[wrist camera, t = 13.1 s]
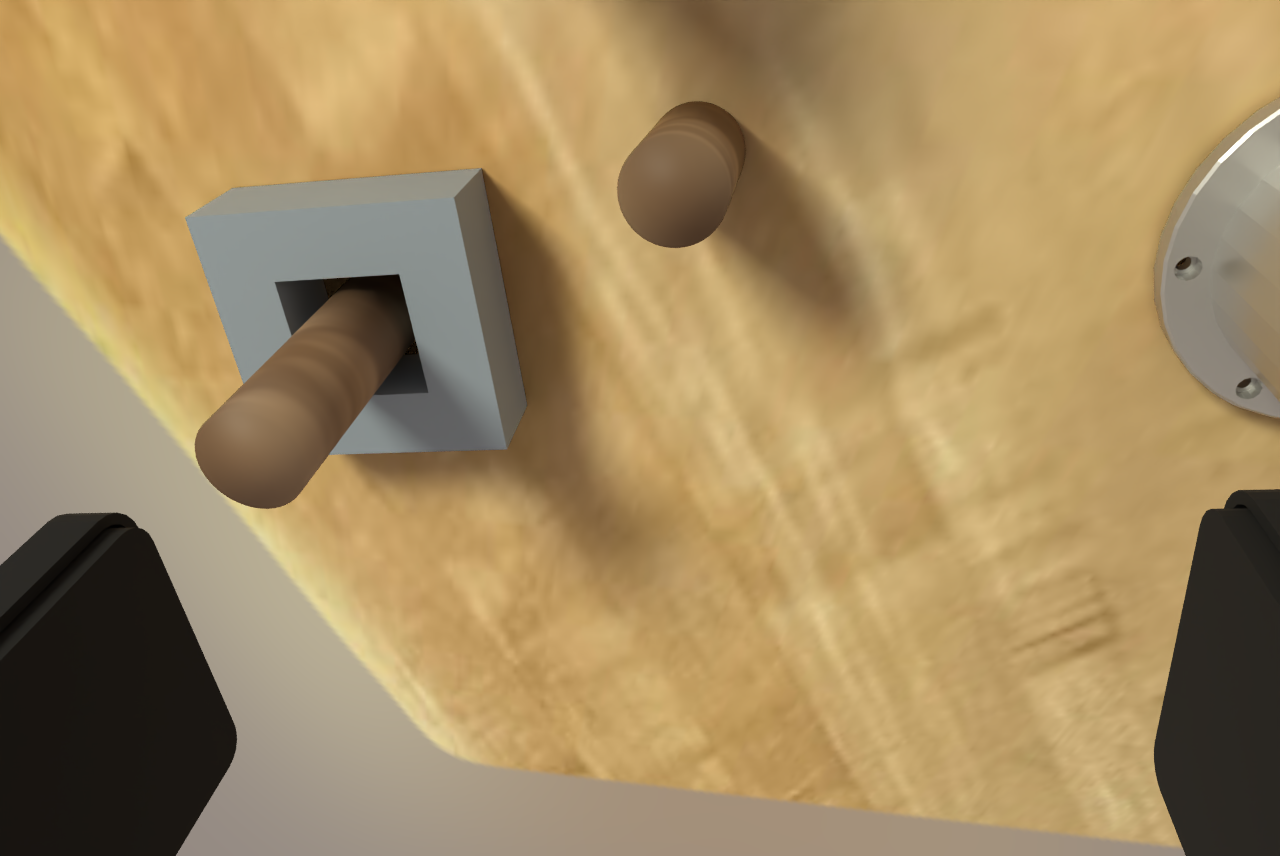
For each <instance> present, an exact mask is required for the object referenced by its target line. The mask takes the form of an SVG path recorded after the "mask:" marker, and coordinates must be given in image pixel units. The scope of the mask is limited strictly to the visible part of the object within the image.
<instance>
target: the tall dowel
mask: <svg viewBox="0 0 1280 856" xmlns="http://www.w3.org/2000/svg"><path fill="white" fill-rule="evenodd" d="M414 340H415V336H414V332H413V328H412V324H411V320H410V316H409V312H408V308H407V304H406V300H405V295H404V291H403V287H402V283H401V279H400V275H399V274H394V275H378V276H362V277H351V278H350V279H349V280H348V281H347V282H346V283H345V284H344V285H343V286H342V287H341V288H340V289H339V290H338V291H337V292H336V293H335V294H334V295H333V296H332V297H331V298H330V299H329V300H328V301H327V302H326V303H325V304H324V305H323V306H322V307H321V308H320V309H319V310H317V311H316V312H315V313H314V314H313V315H312V316H311V317H310V318H309V319H308V320H307V321H306V322H305V323H304V324H303V325H302V326H301V327H300V328H299V329H298V330H297V331H296V332H295V333H294V334H293V335H292V336H291V337H290V338H289V339H288V340H287V341H286V342H285V343H284V344H283V345H282V346H281V347H280V348H279V349H278V350H277V351H276V352H275V353H274V354H273V355H272V356H271V357H270V358H269V359H268V360H267V361H266V362H265V363H264V364H263V365H262V366H261V367H260V368H259V369H258V370H257V371H256V372H255V373H254V374H253V375H252V376H251V377H250V378H249V379H248V380H247V381H246V382H245V383H244V384H243V385H242V386H241V387H240V388H239V389H238V390H237V391H236V392H235V393H234V394H233V395H232V396H231V397H230V398H229V399H228V400H227V401H226V402H225V403H224V404H223V405H222V406H221V407H220V408H219V409H218V410H217V411H216V412H215V413H214V414H213V415H212V416H211V417H210V418H209V419H208V420H207V421H206V422H205V423H204V424H203V425H202V426H201V428H200V429H199V431H198V433H197V436H196V440H195V453H196V458H197V461H198V464H199V466H200V468H201V470H202V472H203V473H204V475H205V476H206V478H207V479H208V480H209V481H210V483H211V484H212V485H213V486H214V487H215V488H217V489H218V490H219V491H220V492H221V493H223V494H224V495H226V496H227V497H229V498H230V499H232V500H234V501H236V502H238V503H241V504H244V505H246V506H250V507H255V508H265V509H269V508H277V507H281V506H284V505H286V504H288V503H290V502H291V501H293V500H294V499H295V498H296V497H297V496H298V495H299V494H300V492H301V491H302V490H303V488H304V487H305V486H306V484H307V483H308V482H309V480H310V479H311V478H312V476H313V475H314V474H315V472H316V471H317V470H318V468H319V467H320V466H321V464H322V463H323V462H324V460H325V459H326V458H327V456H328V455H329V454H330V452H331V451H332V450H333V448H334V447H335V446H336V444H337V443H338V442H339V440H340V439H341V438H342V436H343V435H344V434H345V432H346V431H347V430H348V428H349V427H350V426H351V424H352V423H353V422H354V420H355V419H356V418H357V416H358V415H359V414H360V412H361V411H362V410H363V408H364V407H365V406H366V404H367V403H368V402H369V400H370V399H371V398H372V396H373V395H374V394H375V392H376V391H377V390H378V388H379V387H380V386H381V384H382V383H383V382H384V380H385V379H386V378H387V376H388V375H389V374H390V372H391V371H392V370H393V368H394V367H395V366H396V364H397V363H398V362H399V360H400V359H401V358H402V356H403V355H404V354H405V352H406V351H407V350H408V348H409V347H410V346H411V344H412V343H413V342H414Z"/></svg>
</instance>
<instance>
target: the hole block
mask: <svg viewBox="0 0 1280 856" xmlns="http://www.w3.org/2000/svg"><path fill="white" fill-rule="evenodd" d="M185 219H186V222H187V224H188V227H189V230H190V233H191V236H192V239H193V241H194V244H195V247H196V250H197V253H198V256H199V258H200V261H201V264H202V267H203V270H204V273H205V276H206V278H207V281H208V284H209V287H210V290H211V293H212V295H213V298H214V301H215V304H216V307H217V310H218V312H219V315H220V318H221V321H222V324H223V327H224V330H225V332H226V335H227V338H228V341H229V344H230V347H231V349H232V352H233V355H234V358H235V361H236V364H237V366H238V369H239V372H240V375H241V378H242V381H243V384H244V383H245V382H246V381H247V380H248V379H249V378H250V377H251V376H252V375H253V374H254V373H255V372H256V371H257V370H258V369H259V368H260V367H261V366H262V365H263V364H264V363H265V362H266V361H267V360H268V359H269V358H270V357H271V356H272V355H273V354H274V353H275V352H276V351H277V350H278V349H279V348H280V347H281V346H282V345H283V344H284V343H285V342H286V341H287V340H288V339H289V338H290V337H291V336H292V335H293V334H294V333H295V332H296V331H297V330H298V329H299V328H300V327H301V326H302V325H303V324H304V323H305V322H306V321H307V320H308V319H309V318H310V317H311V316H312V315H313V314H314V313H315V312H316V311H317V310H319V309H320V308H321V307H322V306H323V305H324V304H325V303H326V302H327V301H328V300H329V298H328V295H327V292H326V288H325V285H324V281H323V279H329V278H345V277H362V276H378V275H394V274H399V275H400V279H401V283H402V287H403V291H404V295H405V300H406V304H407V308H408V312H409V316H410V320H411V324H412V328H413V332H414V336H415V340H416V344H417V348H418V352H419V354H410V355H403V356H402V358H401V359H400V360H399V362H398V363H397V364H396V366H395V367H394V368H393V370H392V371H391V372H390V374H389V375H388V376H387V378H386V379H385V380H384V382H383V383H382V384H381V386H380V387H379V388H378V390H377V391H376V392H375V394H374V395H373V396H372V398H371V399H370V400H369V402H368V403H367V404H366V406H365V407H364V408H363V410H362V411H361V412H360V414H359V415H358V416H357V418H356V419H355V420H354V422H353V423H352V424H351V426H350V427H349V428H348V430H347V431H346V432H345V434H344V435H343V436H342V438H341V439H340V440H339V442H338V443H337V444H336V446H335V447H334V448H333V450H332V451H331V452H330V454H329V455H335V454H369V453H402V452H436V451H469V450H503V449H507V448H508V446H509V444H510V442H511V440H512V437H513V435H514V433H515V431H516V429H517V427H518V424H519V422H520V420H521V418H522V416H523V414H524V411H525V409H526V407H527V401H526V396H525V391H524V386H523V381H522V376H521V370H520V365H519V360H518V355H517V350H516V344H515V339H514V334H513V329H512V324H511V319H510V313H509V308H508V303H507V298H506V293H505V288H504V282H503V277H502V272H501V267H500V262H499V256H498V251H497V246H496V241H495V236H494V231H493V225H492V220H491V215H490V210H489V205H488V200H487V194H486V189H485V184H484V179H483V174H482V168H478V169H466V170H453V171H441V172H428V173H416V174H403V175H391V176H378V177H366V178H353V179H340V180H328V181H315V182H303V183H290V184H278V185H265V186H253V187H240V188H232V189H230V190H229V191H227V192H225V193H224V194H222V195H221V196H219V197H217V198H216V199H214V200H213V201H211V202H209V203H208V204H206V205H204V206H203V207H201V208H200V209H198V210H196V211H195V212H193V213H192V214H190V215H188V216H187V217H185Z"/></svg>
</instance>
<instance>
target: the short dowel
mask: <svg viewBox="0 0 1280 856" xmlns="http://www.w3.org/2000/svg"><path fill="white" fill-rule="evenodd" d="M745 152H746V148H745V141H744V136H743V134H742V131H741V129H740V127H739V125H738V124H737V122H736V121H735V119H734V118H733V117H732V116H731V115H730V114H729V113H728V112H726V111H725V110H724V109H722V108H720V107H718V106H716V105H714V104H711V103H707V102H688V103H684V104H681V105H679V106H676V107H675V108H673V109H671V110H670V111H669V112H667V113H666V114H665V115H664V116H663V117H662V118H661V119H660V121H659V122H658V123H657V124H656V125H655V126H654V127H653V129H652V130H651V131H650V132H649V133H648V134H647V135H646V137H645V138H644V139H643V140H642V141H641V142H640V143H639V145H638V146H637V147H636V148H635V149H634V150H633V151H632V153H631V154H630V155H629V156H628V158H627V159H626V161H625V163H624V164H623V166H622V169H621V171H620V175H619V179H618V187H617V192H618V201H619V205H620V208H621V211H622V213H623V216H624V217H625V219H626V221H627V223H628V224H629V225H630V226H631V228H632V229H633V230H634V231H635V232H636V233H637V234H638V235H640V236H641V237H642V238H644V239H646V240H647V241H649V242H651V243H653V244H656V245H659V246H663V247H669V248H680V247H687V246H691V245H694V244H696V243H699V242H700V241H702V240H704V239H705V238H707V237H708V236H710V235H711V234H712V233H713V232H714V231H715V230H716V228H717V227H718V226H719V225H720V223H721V221H722V220H723V218H724V216H725V213H726V211H727V208H728V206H729V203H730V200H731V198H732V195H733V192H734V190H735V187H736V184H737V182H738V179H739V176H740V174H741V171H742V168H743V165H744V161H745Z"/></svg>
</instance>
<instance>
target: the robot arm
mask: <svg viewBox="0 0 1280 856" xmlns="http://www.w3.org/2000/svg"><path fill="white" fill-rule="evenodd" d="M1186 257H1187V259H1186V261H1185V262H1184V263H1183V264H1181V265H1176V264H1177V263H1178V262H1179V261H1180V260H1182V259H1183V258H1186ZM1154 301H1155V305H1156V309H1157V313H1158V317H1159V321H1160V325H1161V329H1162V330H1163V332H1164V334H1165V336H1166V338H1167V340H1168V342H1169V344H1170V346H1171V347H1172V349H1173V351H1174V353H1175V354H1176V355H1177V357H1178V358H1179V359H1180V360H1181V362H1182V363H1183V364H1184V365H1185V367H1186V368H1187V369H1188V371H1189V372H1190V373H1191V375H1193V376H1194V377H1195V378H1196V379H1197V380H1198V381H1200V382H1201V383H1202V384H1203V385H1204V386H1205V387H1206V388H1208V389H1209V390H1210V391H1211V392H1212V393H1213V394H1215V395H1217V396H1219V397H1220V398H1222V399H1224V400H1226V401H1227V402H1229V403H1231V404H1233V405H1235V406H1237V407H1239V408H1242V409H1246V410H1249V411H1252V412H1255V413H1258V414H1262V415H1265V416H1268V417H1273V418H1280V97H1279V98H1277V99H1275V100H1274V101H1272V102H1270V103H1269V104H1267V105H1266V106H1264V107H1262V108H1261V109H1259V110H1257V111H1256V112H1255V113H1254V114H1253V115H1251V116H1250V117H1249V118H1248V119H1247V120H1245V121H1244V122H1243V123H1242V124H1241V125H1239V126H1238V127H1237V128H1236V129H1234V130H1233V131H1232V132H1231V133H1230V134H1228V135H1227V136H1226V137H1225V138H1224V139H1223V140H1222V141H1221V142H1220V143H1219V144H1218V145H1217V147H1216V148H1215V149H1214V150H1213V151H1212V152H1211V153H1210V154H1209V155H1208V157H1207V158H1206V159H1205V160H1204V161H1203V162H1202V163H1201V164H1200V166H1199V167H1198V168H1197V169H1196V170H1195V172H1194V173H1193V175H1192V176H1191V178H1190V179H1189V181H1188V183H1187V184H1186V186H1185V187H1184V189H1183V190H1182V192H1181V193H1180V195H1179V197H1178V198H1177V200H1176V201H1175V203H1174V205H1173V208H1172V210H1171V212H1170V215H1169V217H1168V220H1167V222H1166V224H1165V227H1164V229H1163V231H1162V234H1161V236H1160V241H1159V246H1158V251H1157V256H1156V260H1155V265H1154ZM236 743H237V735H236V728H235V725H234V723H233V720H232V718H231V715H230V713H229V711H228V709H227V706H226V704H225V702H224V700H223V697H222V695H221V693H220V691H219V688H218V686H217V684H216V682H215V679H214V677H213V675H212V672H211V670H210V668H209V666H208V663H207V661H206V659H205V657H204V654H203V652H202V650H201V648H200V646H199V643H198V641H197V639H196V636H195V634H194V632H193V629H192V627H191V625H190V623H189V621H188V618H187V616H186V614H185V611H184V609H183V607H182V605H181V603H180V600H179V598H178V596H177V593H176V591H175V589H174V587H173V584H172V582H171V580H170V577H169V576H168V573H167V571H166V568H165V566H164V564H163V562H162V559H161V557H160V555H159V553H158V550H157V548H156V546H155V544H154V541H153V540H152V538H151V537H150V535H149V533H147V532H146V531H145V530H143V529H140V528H138V526H137V525H136V523H135V522H134V521H133V520H132V519H131V518H129V517H128V516H127V515H124V514H120V513H79V514H64V515H59V516H56V517H55V518H53V519H52V520H50V521H49V522H47V523H46V524H45V525H44V526H43V527H42V528H41V529H40V530H39V531H37V532H36V533H35V534H34V535H33V536H32V537H31V538H30V539H29V540H28V541H27V542H25V543H24V544H23V545H22V546H21V547H20V548H19V549H18V550H17V551H16V552H15V553H14V554H12V555H11V556H10V557H9V558H8V559H7V560H6V561H5V562H4V563H3V564H1V565H0V856H176V854H177V853H178V851H179V849H180V848H181V846H182V844H183V843H184V841H185V839H186V838H187V836H188V834H189V833H190V831H191V829H192V828H193V826H194V824H195V823H196V821H197V819H198V818H199V816H200V814H201V813H202V811H203V809H204V808H205V806H206V805H207V803H208V801H209V800H210V798H211V796H212V795H213V793H214V791H215V790H216V788H217V786H218V785H219V783H220V781H221V780H222V778H223V777H224V775H225V773H226V772H227V770H228V768H229V767H230V764H231V762H232V760H233V758H234V754H235V751H236ZM1154 763H1155V772H1156V776H1157V781H1158V785H1159V788H1160V791H1161V794H1162V796H1163V799H1164V801H1165V804H1166V806H1167V809H1168V812H1169V814H1170V817H1171V819H1172V822H1173V824H1174V827H1175V829H1176V832H1177V834H1178V837H1179V840H1180V842H1181V845H1182V847H1183V850H1184V852H1185V855H1186V856H1280V489H1275V490H1238V491H1236V492H1234V493H1232V494H1231V496H1230V497H1229V498H1228V500H1227V501H1226V504H1225V507H1224V509H1210V510H1208V511H1206V513H1205V514H1204V516H1203V517H1202V520H1201V524H1200V527H1199V532H1198V537H1197V542H1196V547H1195V552H1194V556H1193V561H1192V566H1191V571H1190V576H1189V580H1188V585H1187V590H1186V595H1185V600H1184V604H1183V609H1182V614H1181V619H1180V624H1179V629H1178V633H1177V638H1176V643H1175V648H1174V653H1173V657H1172V662H1171V667H1170V672H1169V677H1168V682H1167V686H1166V691H1165V696H1164V701H1163V706H1162V710H1161V715H1160V720H1159V725H1158V730H1157V734H1156V739H1155V746H1154Z"/></svg>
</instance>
